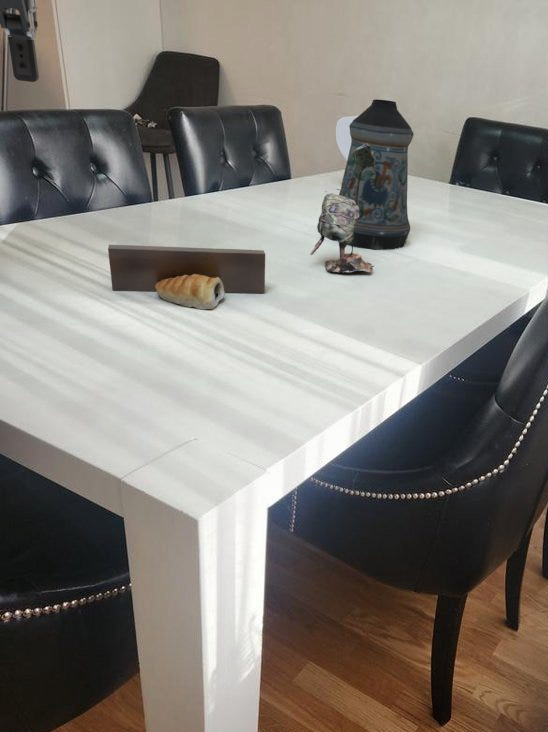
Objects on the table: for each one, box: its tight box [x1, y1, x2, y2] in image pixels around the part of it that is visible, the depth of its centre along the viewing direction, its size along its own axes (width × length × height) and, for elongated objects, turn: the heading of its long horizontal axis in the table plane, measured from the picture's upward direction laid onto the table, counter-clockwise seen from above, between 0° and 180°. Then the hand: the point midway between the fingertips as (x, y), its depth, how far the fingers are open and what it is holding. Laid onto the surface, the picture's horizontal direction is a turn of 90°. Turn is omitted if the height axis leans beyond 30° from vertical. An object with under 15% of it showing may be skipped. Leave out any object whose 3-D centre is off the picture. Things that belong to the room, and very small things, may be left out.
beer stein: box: [338, 99, 415, 251], centre depth 129 cm, size 16×19×25 cm
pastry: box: [155, 274, 226, 310], centre depth 93 cm, size 9×7×4 cm
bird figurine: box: [309, 143, 376, 274], centre depth 109 cm, size 8×11×20 cm
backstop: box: [107, 244, 266, 294], centre depth 96 cm, size 22×2×6 cm, turn 104°
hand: (27, 80), depth 68 cm, fingers closed
